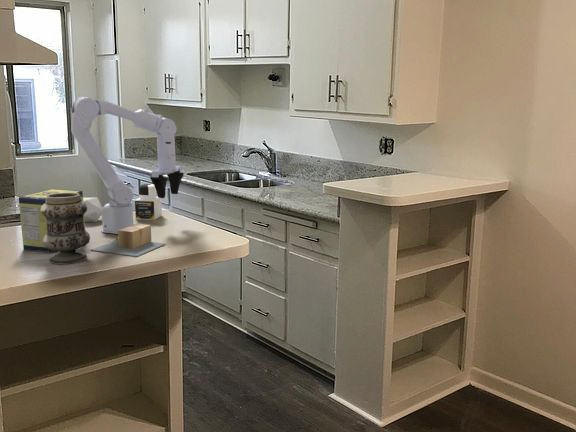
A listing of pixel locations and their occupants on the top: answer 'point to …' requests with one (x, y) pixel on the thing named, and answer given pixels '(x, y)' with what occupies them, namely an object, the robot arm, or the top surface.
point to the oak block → (134, 235)
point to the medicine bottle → (148, 203)
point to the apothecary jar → (65, 227)
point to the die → (92, 209)
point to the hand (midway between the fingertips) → (168, 195)
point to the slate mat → (135, 252)
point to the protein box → (37, 219)
